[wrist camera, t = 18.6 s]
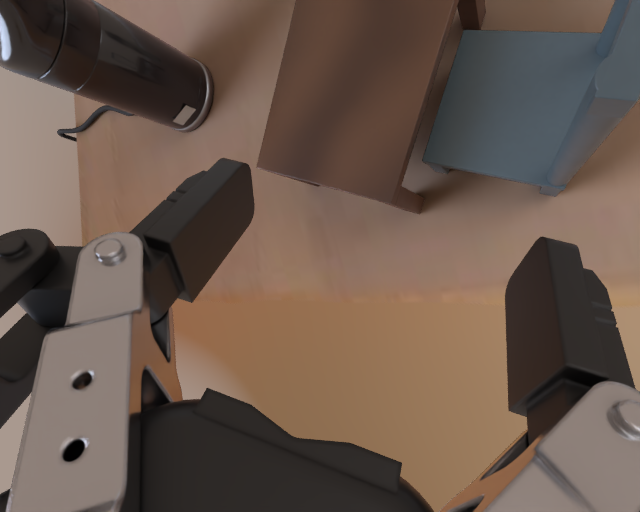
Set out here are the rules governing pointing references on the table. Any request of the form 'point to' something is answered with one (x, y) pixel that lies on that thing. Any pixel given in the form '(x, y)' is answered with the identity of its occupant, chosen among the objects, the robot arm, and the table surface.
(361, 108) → the walnut table
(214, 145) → the table surface
